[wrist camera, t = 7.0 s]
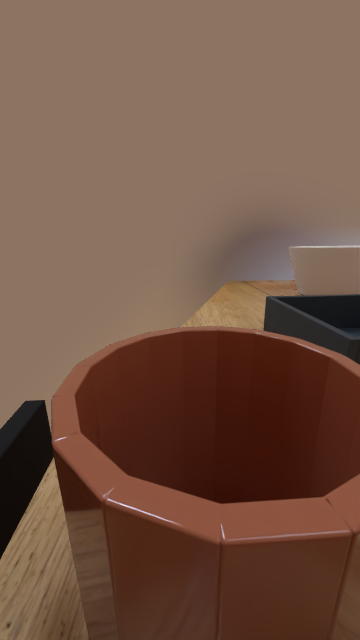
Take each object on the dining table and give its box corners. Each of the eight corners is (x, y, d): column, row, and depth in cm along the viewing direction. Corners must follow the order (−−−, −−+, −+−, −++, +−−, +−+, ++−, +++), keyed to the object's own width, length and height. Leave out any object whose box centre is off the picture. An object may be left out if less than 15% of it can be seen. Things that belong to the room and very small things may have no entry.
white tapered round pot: (345, 285, 80) (352, 245, 77) (417, 302, 57) (432, 246, 54) (270, 287, 79) (274, 246, 76) (313, 304, 56) (321, 248, 53)
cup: (61, 881, 6) (-76, 567, 3) (120, 513, 13) (100, 329, 10) (410, 832, 6) (605, 514, 3) (272, 502, 14) (293, 323, 11)
